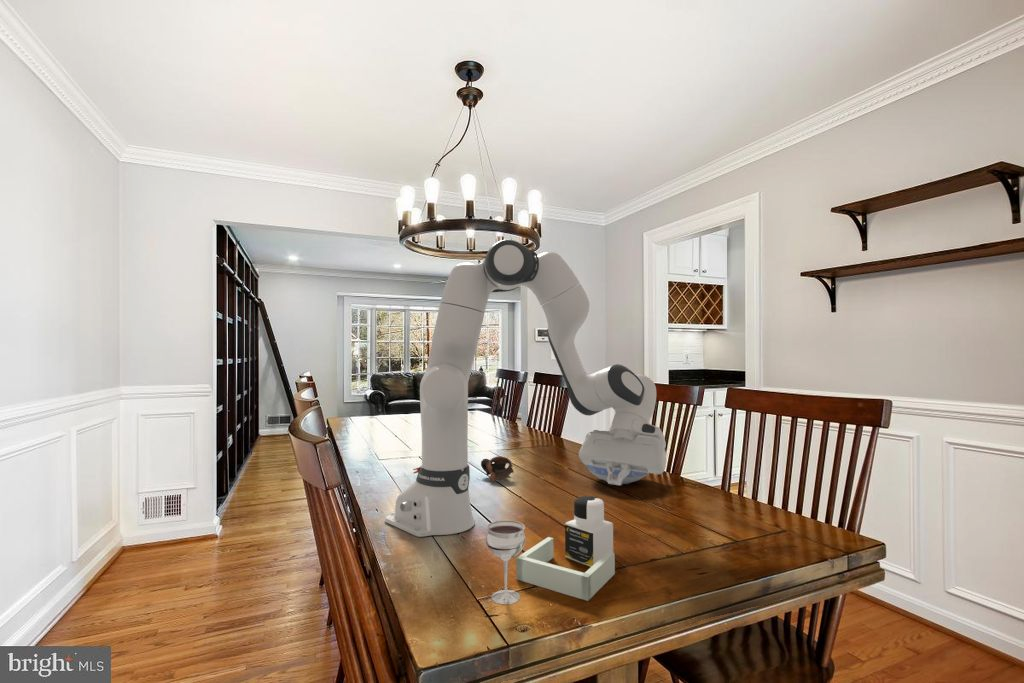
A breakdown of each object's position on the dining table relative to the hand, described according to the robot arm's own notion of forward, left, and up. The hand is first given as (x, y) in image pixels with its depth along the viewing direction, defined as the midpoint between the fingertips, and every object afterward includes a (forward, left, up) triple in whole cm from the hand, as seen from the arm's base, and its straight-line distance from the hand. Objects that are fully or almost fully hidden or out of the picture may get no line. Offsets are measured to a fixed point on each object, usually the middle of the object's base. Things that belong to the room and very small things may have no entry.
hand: (613, 483), depth 113 cm
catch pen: (0, -23, -12) cm, 26 cm away
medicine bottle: (0, -13, -12) cm, 18 cm away
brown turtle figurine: (-51, +26, -12) cm, 59 cm away
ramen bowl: (-16, +44, -12) cm, 49 cm away
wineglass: (-5, -36, -12) cm, 38 cm away
